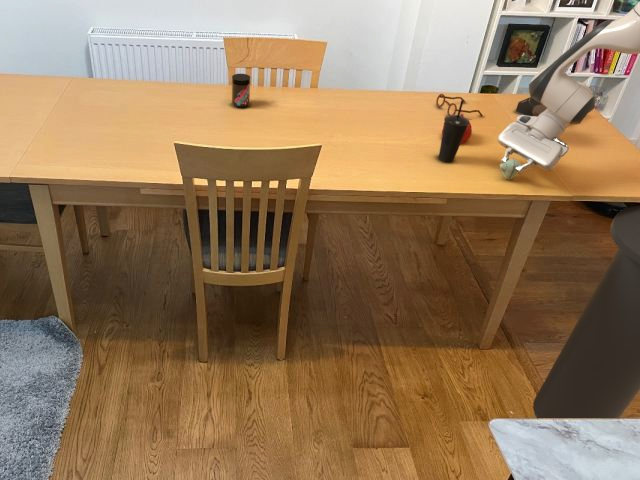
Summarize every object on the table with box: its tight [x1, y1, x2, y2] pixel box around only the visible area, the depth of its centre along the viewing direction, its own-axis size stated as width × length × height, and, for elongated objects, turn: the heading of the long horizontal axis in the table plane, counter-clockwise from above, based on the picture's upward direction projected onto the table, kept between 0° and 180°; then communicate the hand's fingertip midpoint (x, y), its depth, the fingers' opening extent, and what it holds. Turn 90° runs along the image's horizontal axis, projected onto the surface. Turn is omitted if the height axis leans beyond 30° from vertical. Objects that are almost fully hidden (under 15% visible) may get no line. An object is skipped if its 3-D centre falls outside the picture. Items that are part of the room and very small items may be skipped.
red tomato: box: [441, 113, 473, 143], centre depth 200 cm, size 10×10×9 cm
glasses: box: [435, 93, 483, 117], centre depth 219 cm, size 13×13×5 cm
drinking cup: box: [438, 99, 470, 164], centre depth 185 cm, size 8×8×20 cm
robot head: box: [499, 158, 524, 181], centre depth 181 cm, size 8×4×7 cm, turn 88°
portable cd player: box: [514, 96, 542, 116], centre depth 219 cm, size 16×17×4 cm
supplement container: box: [231, 73, 251, 109], centre depth 214 cm, size 7×7×10 cm
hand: (510, 167), depth 180 cm, fingers closed on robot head, 4 cm apart
